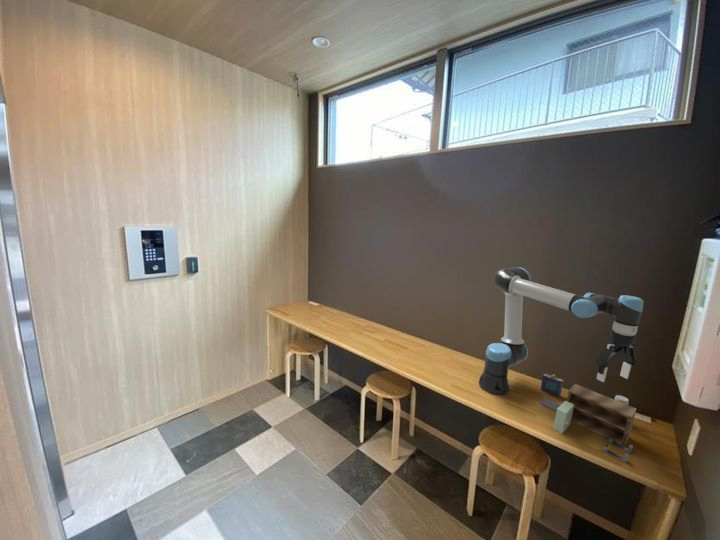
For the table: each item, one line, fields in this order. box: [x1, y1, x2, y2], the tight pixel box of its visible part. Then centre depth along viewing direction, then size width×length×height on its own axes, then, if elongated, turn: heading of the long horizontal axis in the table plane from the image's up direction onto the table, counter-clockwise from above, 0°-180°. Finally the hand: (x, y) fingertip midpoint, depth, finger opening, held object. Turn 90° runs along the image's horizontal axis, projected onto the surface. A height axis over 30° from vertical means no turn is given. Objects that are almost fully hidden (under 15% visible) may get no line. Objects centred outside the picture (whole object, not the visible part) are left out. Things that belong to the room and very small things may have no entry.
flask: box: [540, 373, 564, 397], centre depth 157 cm, size 9×3×11 cm, turn 51°
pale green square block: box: [553, 400, 574, 434], centre depth 131 cm, size 4×10×10 cm, turn 128°
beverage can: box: [613, 394, 630, 405], centre depth 136 cm, size 5×5×12 cm
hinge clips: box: [603, 436, 634, 464], centre depth 119 cm, size 7×10×2 cm
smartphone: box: [539, 397, 562, 412], centre depth 145 cm, size 8×1×15 cm
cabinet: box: [566, 383, 637, 447], centre depth 132 cm, size 22×9×14 cm, turn 38°
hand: (612, 378), depth 127 cm, fingers open, 13 cm apart
